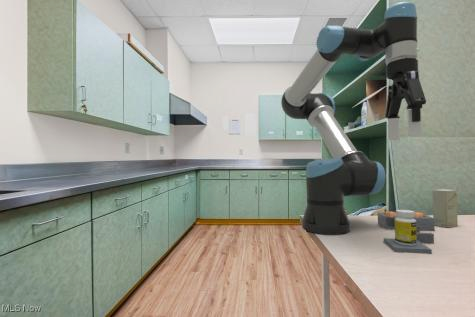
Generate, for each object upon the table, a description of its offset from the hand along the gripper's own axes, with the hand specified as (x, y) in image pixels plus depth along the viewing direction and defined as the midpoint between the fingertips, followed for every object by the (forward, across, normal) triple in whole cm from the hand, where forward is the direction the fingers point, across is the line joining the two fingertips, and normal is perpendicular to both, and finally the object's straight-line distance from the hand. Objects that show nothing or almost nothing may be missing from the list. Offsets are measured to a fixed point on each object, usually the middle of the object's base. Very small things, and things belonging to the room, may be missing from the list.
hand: (403, 138), depth 71 cm
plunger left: (+28, +17, -2) cm, 33 cm away
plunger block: (+29, +17, -6) cm, 34 cm away
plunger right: (+28, +17, -10) cm, 34 cm away
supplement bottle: (+28, -5, +2) cm, 28 cm away
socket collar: (+29, +4, -4) cm, 29 cm away
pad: (+29, -5, +2) cm, 29 cm away
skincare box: (+29, +21, -20) cm, 41 cm away
